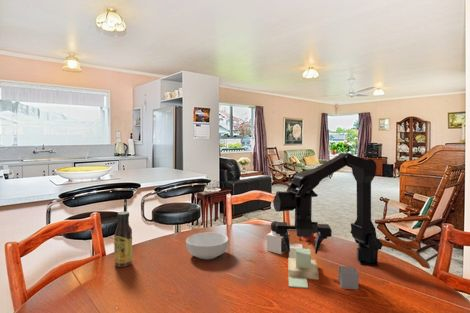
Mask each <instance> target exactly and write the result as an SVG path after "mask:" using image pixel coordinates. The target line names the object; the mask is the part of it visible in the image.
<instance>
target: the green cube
mask: <svg viewBox="0 0 470 313" xmlns="http://www.w3.org/2000/svg"><path fill="white" fill-rule="evenodd" d="M311 260H312V252H311V248H303V247H302V248H296V268H310V269H311Z"/></svg>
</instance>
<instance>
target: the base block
mask: <svg viewBox="0 0 470 313" xmlns="http://www.w3.org/2000/svg"><path fill="white" fill-rule="evenodd" d="M287 268H288V269H287V270H288V271H287V274H288V276H287V277H300V278H307V280H308V279H309V280H317V281H318V280H319V275H320V274H319V268H318V264H317V260H316V259H311V269H310V268H296V258H289V257H288V258H287Z"/></svg>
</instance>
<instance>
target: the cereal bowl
mask: <svg viewBox="0 0 470 313" xmlns="http://www.w3.org/2000/svg"><path fill="white" fill-rule="evenodd" d="M185 245H186V250H187V251H188V252H189V253H190V255H192V256H194V257H196V258H198V259H201V260H206V261H207V260H213V259H215V258H217V257H218V256H222V254H224V253H225V252H227V249H228V246H229V236H227V235H226V234H224V233H221V232H210V231H208V232H207V231H206V232H198V233H195V234H191V235H190V236H188V237H187V238H186V240H185Z"/></svg>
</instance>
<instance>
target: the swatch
mask: <svg viewBox="0 0 470 313" xmlns="http://www.w3.org/2000/svg"><path fill="white" fill-rule="evenodd" d="M287 277H288V276H287ZM288 287H289V288H299V289H309V284H308V279H307V278H300V277H288Z"/></svg>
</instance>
